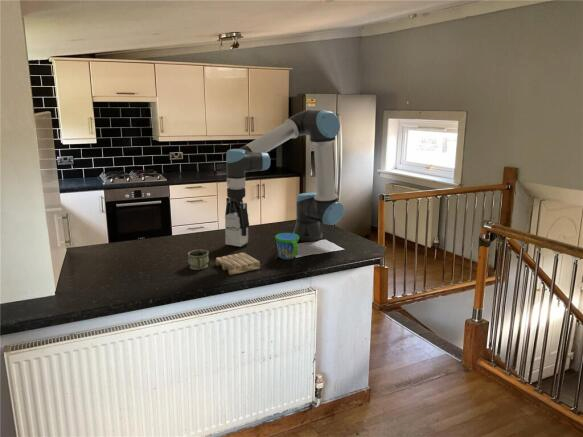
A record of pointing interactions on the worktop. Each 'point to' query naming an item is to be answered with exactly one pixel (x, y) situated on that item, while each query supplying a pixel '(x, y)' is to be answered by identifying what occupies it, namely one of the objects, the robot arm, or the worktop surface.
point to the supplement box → (233, 230)
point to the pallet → (238, 263)
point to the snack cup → (287, 245)
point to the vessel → (198, 259)
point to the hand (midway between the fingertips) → (237, 239)
